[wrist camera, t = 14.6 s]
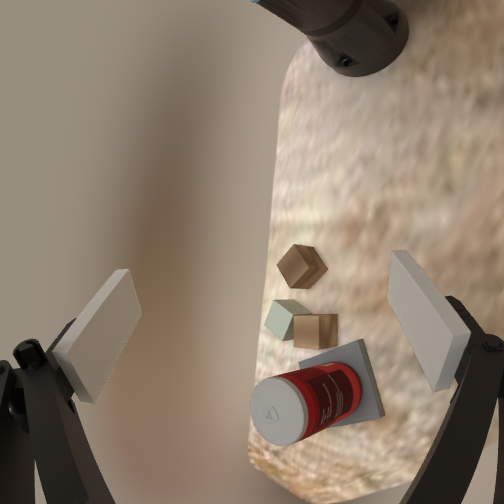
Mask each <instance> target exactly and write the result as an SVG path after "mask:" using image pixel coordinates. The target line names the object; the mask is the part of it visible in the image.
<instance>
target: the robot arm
mask: <svg viewBox="0 0 504 504" xmlns="http://www.w3.org/2000/svg"><path fill="white" fill-rule="evenodd" d="M250 1H251V2H254V3H257V4H259V5H260V6H262V7H264V8H265V9H267V10H269V11H270V12H272V13H274V14H275V15H277V16H278V17H280V18H281V19H283V20H284V21H286V22H288V23H289V24H291V25H292V26H294V27H296V28H297V29H298V30H300V31H301V32H303V33H304V34H305V35H306V36H307V37H308V38H309V40H310V41H311V43H312V44H313V46H314V48H315V49H316V51H317V52H318V54H319V55H320V57H321V58H322V60H323V61H324V62H325V63H326V64H327V65H329V66H330V67H331V68H333V69H334V70H335V71H337V72H338V73H340V74H343V75H346V76H363V75H368V74H371V73H374V72H376V71H378V70H380V69H382V68H383V67H385V66H386V65H388V64H389V63H390V62H392V61H393V60H394V59H395V58H396V57H397V56H398V54H399V53H400V52H401V50H402V49H403V47H404V45H405V43H406V40H407V36H408V23H407V20H406V18H405V16H404V14H403V13H402V12H401V10H400V9H399V8H398V7H397V6H396V5H395V4H394V3H393V2H392V1H391V0H250ZM387 300H388V302H389V304H390V306H391V308H392V310H393V312H394V313H395V315H396V317H397V319H398V321H399V323H400V325H401V327H402V329H403V331H404V333H405V335H406V337H407V339H408V341H409V343H410V345H411V347H412V349H413V351H414V353H415V355H416V357H417V359H418V361H419V363H420V365H421V367H422V369H423V371H424V374H425V376H426V378H427V380H428V382H429V384H430V387H431V389H432V391H433V392H436V391H440V390H444V389H448V388H450V386H451V384H452V382H453V379H454V377H455V379H456V381H457V383H458V386H457V389H456V391H455V393H454V395H453V397H452V399H451V401H450V403H451V404H450V406H449V409H448V411H447V413H446V416H445V418H444V420H443V423H442V425H441V427H440V429H439V432H438V434H437V436H436V438H435V440H434V442H433V444H432V446H431V448H430V450H429V452H428V454H427V456H426V458H425V460H424V462H423V464H422V466H421V468H420V469H419V471H418V473H417V475H416V477H415V478H414V480H413V482H412V484H411V485H410V487H409V489H408V490H407V492H406V494H405V495H404V497H403V499H402V500H401V502H400V503H399V504H461V502H462V500H463V498H464V496H465V494H466V492H467V489H468V487H469V484H470V482H471V480H472V477H473V475H474V472H475V469H476V467H477V464H478V461H479V458H480V456H481V453H482V450H483V447H484V444H485V441H486V438H487V434H488V431H489V428H490V424H491V421H492V417H493V413H494V409H495V405H496V401H497V398H498V404H499V445H498V464H497V475H496V485H495V494H494V501H493V504H504V341H503V340H502V339H500V338H499V337H497V336H495V335H492V334H485V332H484V331H483V330H482V328H481V327H480V326H479V325H478V323H477V322H476V321H475V319H474V318H473V317H472V316H471V314H470V313H469V312H468V310H466V308H465V307H464V305H463V304H462V303H461V302H460V301H459V300H457V299H456V298H454V297H453V296H445V297H444V295H443V294H442V293H441V292H440V290H439V289H438V288H437V287H436V285H435V284H434V283H433V282H432V280H431V279H430V278H429V277H428V276H427V274H426V273H425V272H424V271H423V269H422V268H421V267H420V266H419V265H418V264H417V262H416V261H415V260H414V259H413V258H412V256H411V255H410V254H409V253H408V252H407V251H406V250H398V251H392V256H391V266H390V276H389V285H388V293H387ZM141 315H142V311H141V308H140V305H139V302H138V298H137V295H136V292H135V288H134V285H133V281H132V278H131V275H130V271H129V269H121V270H116V271H115V272H114V273H113V275H112V276H111V277H110V278H109V279H108V280H107V282H106V283H105V284H104V285H103V286H102V288H101V289H100V290H99V291H98V292H97V294H96V295H95V296H94V297H93V299H92V300H91V301H90V302H89V304H88V305H87V306H86V307H85V309H84V310H83V311H82V313H81V314H80V315H79V316H78V317H77V318H75V319H73V320H72V321H71V322H70V323H68V324H67V325H66V326H65V328H64V329H63V330H62V333H60V334H59V335H58V338H56V339H55V341H54V342H53V343H52V345H51V346H50V347H49V349H48V350H47V351H46V353H44V351H43V349H42V347H41V345H40V343H39V341H38V340H36V339H28V340H25V341H23V342H21V343H20V344H19V345H18V346H16V348H15V349H14V351H13V355H14V357H15V359H16V360H17V362H18V364H19V366H20V367H21V368H17V369H13V368H12V367H11V365H10V364H9V362H8V361H6V360H1V361H0V504H35V486H34V485H35V484H34V482H35V480H34V469H35V461H36V465H37V470H38V474H39V477H40V481H41V485H42V488H43V492H44V495H45V499H46V502H47V504H116V503H115V501H114V499H113V498H112V495H111V493H110V492H109V489H108V487H107V485H106V483H105V481H104V479H103V476H102V474H101V472H100V470H99V468H98V465H97V463H96V461H95V458H94V456H93V453H92V451H91V449H90V446H89V443H88V441H87V438H86V435H85V433H84V430H83V427H82V425H81V421H80V419H79V416H78V413H77V410H76V407H75V403H74V402H73V400H72V399H71V397H72V395H73V393H74V392H75V393H76V395H77V396H78V398H79V399H80V401H83V402H89V403H94V404H95V402H96V400H97V398H98V396H99V394H100V392H101V390H102V388H103V386H104V384H105V382H106V380H107V378H108V377H109V375H110V373H111V371H112V369H113V367H114V365H115V363H116V361H117V359H118V357H119V355H120V353H121V351H122V350H123V348H124V346H125V344H126V342H127V340H128V338H129V337H130V335H131V333H132V331H133V329H134V327H135V326H136V324H137V322H138V320H139V319H140V317H141ZM9 408H10V409H11V411H10V410H9Z"/></svg>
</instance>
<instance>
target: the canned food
mask: <svg viewBox="0 0 504 504" xmlns="http://www.w3.org/2000/svg"><path fill="white" fill-rule="evenodd" d="M361 393H362V389H361V383H360V380H359V378H358V376H357V374H356V373H355V371H354V370H353V369H352V368H350V367H349V366H347V365H346V364H343V363H339V362H326V363H323V364H319V365H316V366H312V367H308V368H304V369H300V370H297V371H293V372H289V373H284V374H280V375H277V376H273V377H270V378H267V379H264V380H262V381H261V382H259V383H258V384H257V385H256V386H255V388H254V390H253V392H252V395H251V400H250V412H251V417H252V421H253V423H254V425H255V427H256V429H257V431H258V432H259V433H260V435H261V436H262V437H263V438H264V439H265V440H266V441H268V442H270V443H271V444H274V445H276V446H287V445H291V444H294V443H296V442H298V441H301V440H303V439H305V438H307V437H309V436H311V435H313V434H315V433H317V432H319V431H321V430H323V429H325V428H327V427H329V426H331V425H333V424H335V423H337V422H338V421H340V420H342V419H344V418H346V417H348V416H349V415H350V414H351V413H352V412H353V411H354V410H355V409H356V407H357V406H358V404H359V402H360V399H361Z"/></svg>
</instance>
